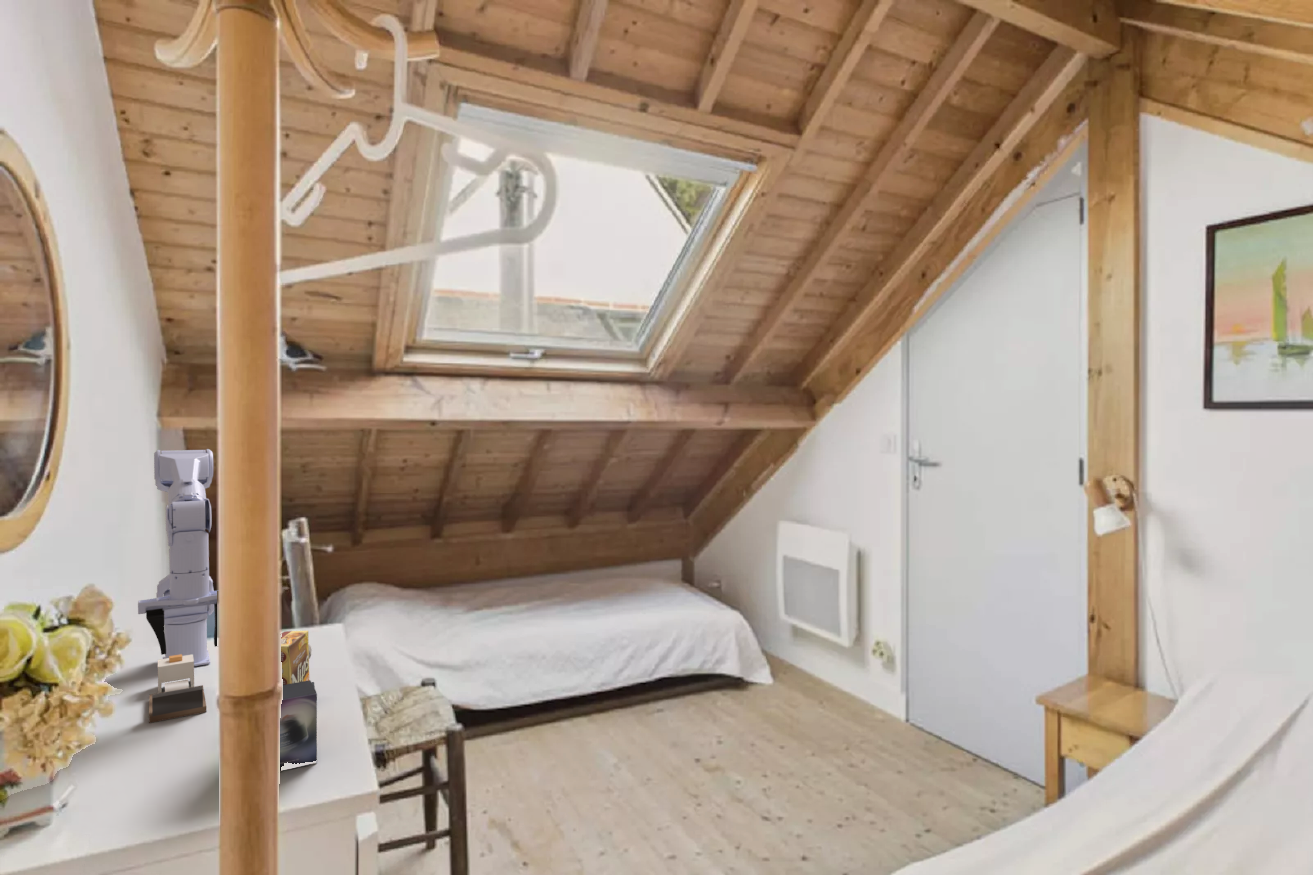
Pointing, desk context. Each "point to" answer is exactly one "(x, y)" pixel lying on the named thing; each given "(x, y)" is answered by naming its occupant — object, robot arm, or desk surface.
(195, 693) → the board
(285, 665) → the candy box
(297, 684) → the small box
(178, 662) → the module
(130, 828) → the desk surface
